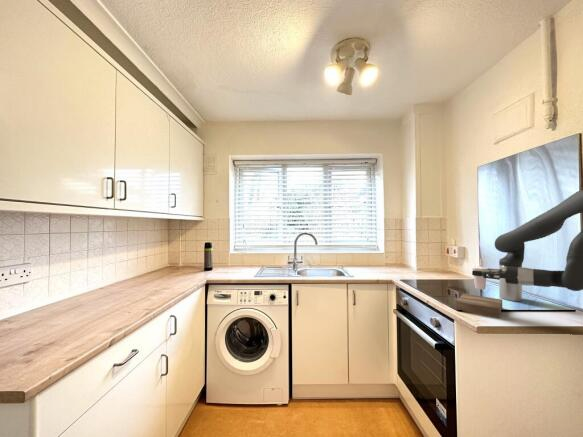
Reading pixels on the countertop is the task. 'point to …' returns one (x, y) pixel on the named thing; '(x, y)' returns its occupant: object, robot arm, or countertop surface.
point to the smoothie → (478, 280)
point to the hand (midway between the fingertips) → (473, 271)
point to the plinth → (479, 305)
